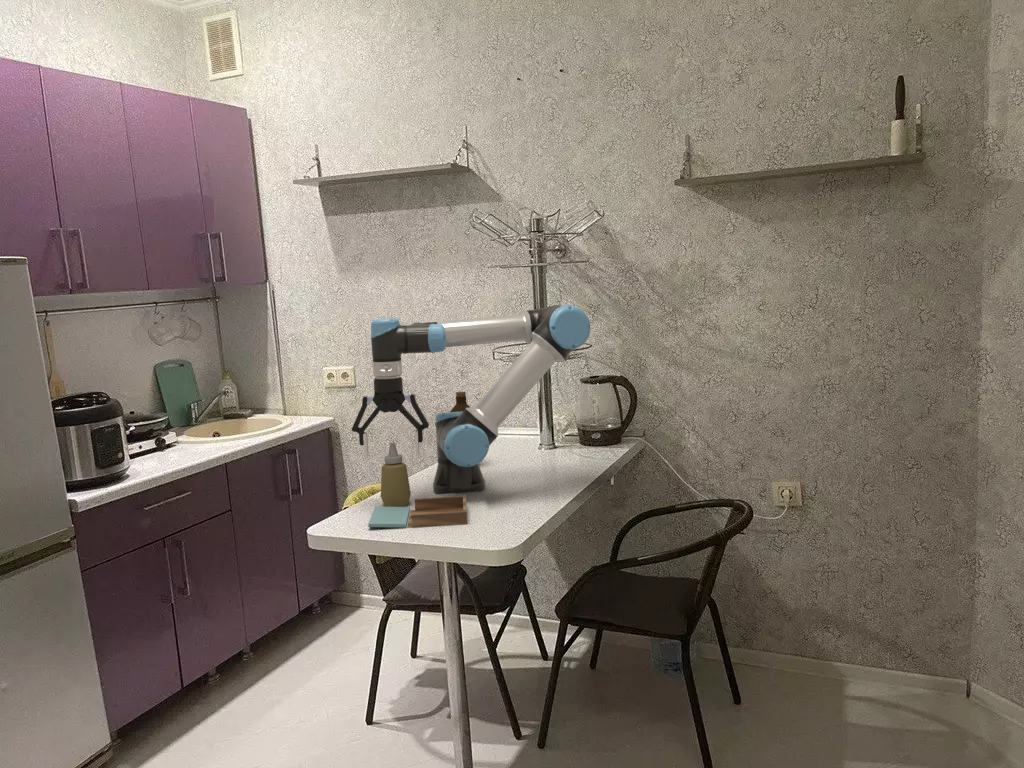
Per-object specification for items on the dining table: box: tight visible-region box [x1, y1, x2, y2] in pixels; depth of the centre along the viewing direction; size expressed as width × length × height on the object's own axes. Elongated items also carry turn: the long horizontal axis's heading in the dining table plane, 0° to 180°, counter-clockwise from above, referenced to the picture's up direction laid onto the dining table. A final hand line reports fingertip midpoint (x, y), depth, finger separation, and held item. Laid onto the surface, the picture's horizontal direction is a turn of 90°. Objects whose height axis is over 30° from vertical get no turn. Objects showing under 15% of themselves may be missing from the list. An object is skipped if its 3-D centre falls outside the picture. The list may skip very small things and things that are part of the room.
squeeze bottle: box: [380, 442, 412, 507], centre depth 205 cm, size 8×8×18 cm
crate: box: [406, 495, 468, 529], centre depth 193 cm, size 15×15×4 cm
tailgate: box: [367, 506, 411, 528], centre depth 192 cm, size 15×1×9 cm
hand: (392, 456), depth 205 cm, fingers open, 13 cm apart
